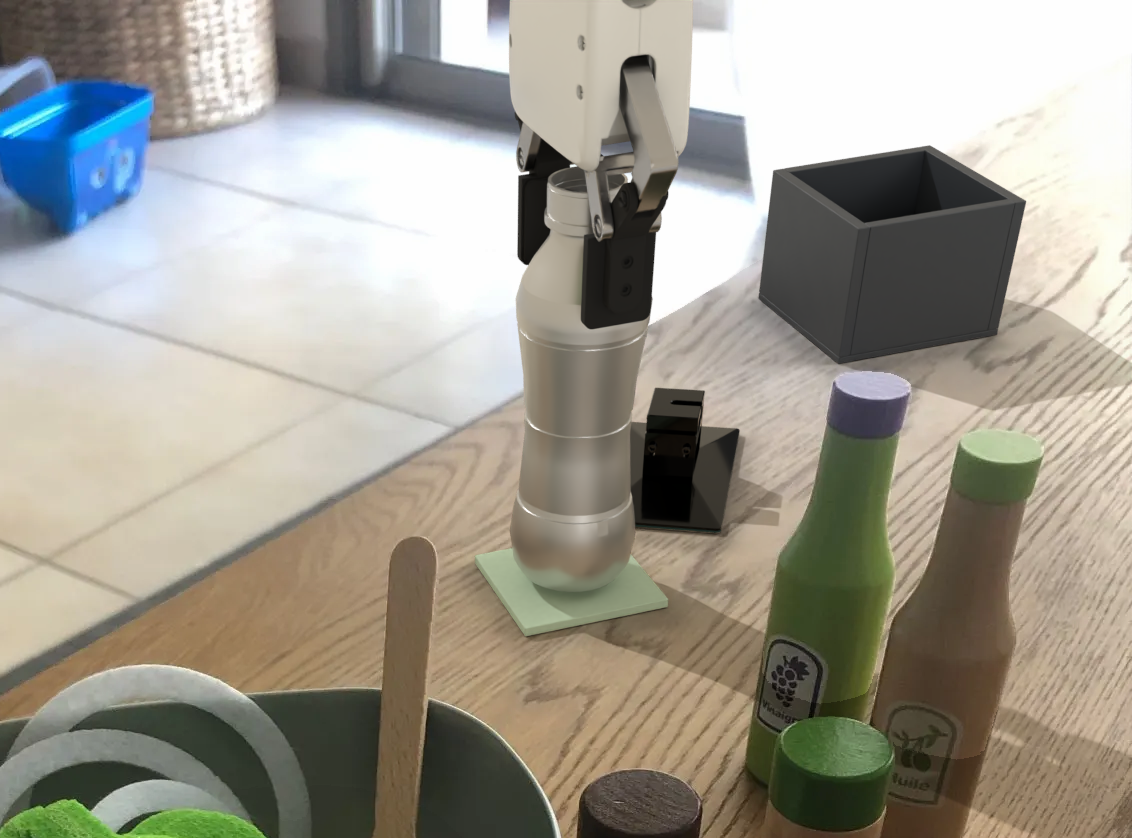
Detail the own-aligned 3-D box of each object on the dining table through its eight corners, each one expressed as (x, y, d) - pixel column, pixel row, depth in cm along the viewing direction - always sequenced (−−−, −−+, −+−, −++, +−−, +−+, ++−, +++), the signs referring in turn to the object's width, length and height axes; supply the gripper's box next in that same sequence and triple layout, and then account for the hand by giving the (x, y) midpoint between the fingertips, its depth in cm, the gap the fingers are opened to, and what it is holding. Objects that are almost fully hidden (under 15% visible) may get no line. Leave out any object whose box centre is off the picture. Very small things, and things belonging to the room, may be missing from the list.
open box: (907, 272, 116) (930, 144, 110) (997, 334, 108) (1026, 200, 102) (757, 298, 113) (772, 169, 108) (838, 363, 105) (858, 228, 100)
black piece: (720, 536, 91) (728, 458, 88) (590, 526, 92) (593, 449, 89) (739, 433, 99) (748, 358, 96) (620, 425, 101) (624, 351, 97)
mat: (609, 536, 91) (610, 528, 91) (668, 607, 86) (668, 598, 85) (474, 563, 90) (474, 555, 89) (525, 636, 84) (525, 628, 84)
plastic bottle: (569, 532, 91) (585, 145, 77) (658, 577, 87) (692, 178, 73) (483, 574, 88) (483, 179, 74) (571, 623, 84) (589, 217, 70)
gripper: (787, -135, 59) (735, 348, 71) (603, -208, 71) (586, 217, 83) (594, -111, 58) (575, 377, 70) (440, -190, 70) (447, 239, 82)
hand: (581, 287), depth 77 cm, fingers open, 7 cm apart
